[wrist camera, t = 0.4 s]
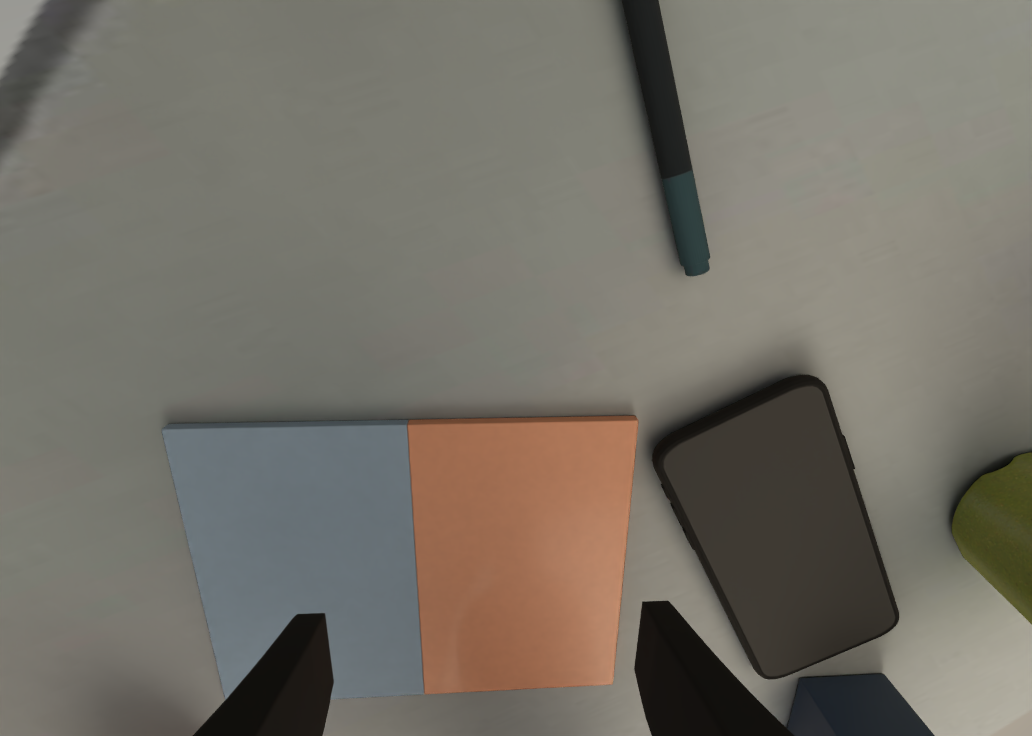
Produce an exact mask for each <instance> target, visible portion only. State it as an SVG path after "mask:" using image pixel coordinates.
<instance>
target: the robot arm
mask: <svg viewBox="0 0 1032 736" xmlns="http://www.w3.org/2000/svg"><path fill="white" fill-rule="evenodd" d="M634 669H635V674H636V678H637V683H638V687H639V692H640V696H641V700H642V704H643V708H644V712H645V716H646V720H647V722H648V725H649V728H650V731H651V734H652V736H794V735H793V734H792V733H791V732H790V731H789V730H788V729H787V728H786V727H785V726H784V725H783V724H782V723H781V722H780V721H778V720H777V719H776V718H775V717H774V716H773V715H772V714H771V713H770V712H769V711H768V710H767V709H766V708H765V707H764V706H763V705H762V704H761V703H760V702H759V701H758V700H757V699H756V698H755V697H754V696H753V695H752V694H751V693H750V692H749V691H748V690H747V689H746V688H745V686H744V685H743V684H742V683H741V682H740V681H739V680H738V679H737V678H736V677H735V676H734V675H733V674H732V673H731V671H730V670H729V669H728V668H727V667H726V666H725V665H724V664H723V663H722V662H721V661H720V660H719V658H718V657H717V656H716V655H715V654H714V653H713V652H712V651H711V649H710V648H709V647H708V646H707V645H706V644H705V643H704V641H703V640H702V639H701V638H700V637H699V636H698V635H697V633H696V632H695V631H694V630H693V629H692V628H691V626H690V625H689V624H688V623H687V622H686V620H685V619H684V618H683V617H682V616H681V615H680V613H679V612H678V611H677V610H676V609H675V607H674V606H673V605H672V604H671V603H670V602H669V601H650V602H642V610H641V618H640V627H639V635H638V643H637V651H636V659H635V668H634ZM333 684H334V679H333V671H332V663H331V655H330V647H329V639H328V632H327V624H326V616H325V613H310V614H297V615H296V616H294V617H293V618H292V620H291V621H290V622H289V623H288V625H287V626H286V627H285V628H284V630H283V631H282V632H281V634H280V635H279V636H278V637H277V639H276V640H275V641H274V642H273V644H272V645H271V646H270V647H269V649H268V650H267V651H266V652H265V654H264V655H263V656H262V657H261V659H260V660H259V661H258V662H257V663H256V665H255V666H254V667H253V668H252V670H251V671H250V672H249V673H248V674H247V675H246V677H245V678H244V679H243V680H242V681H241V682H240V684H239V685H238V686H237V687H236V688H235V689H234V691H233V692H232V693H231V694H230V695H229V696H228V698H227V699H226V700H225V701H224V702H223V703H222V705H221V706H220V707H219V708H218V709H217V710H216V711H215V712H214V713H213V714H212V716H211V717H210V718H209V719H208V720H207V721H206V722H205V723H204V724H203V725H202V726H201V727H200V729H199V730H198V731H197V732H196V733H195V734H194V735H193V736H322V735H323V731H324V727H325V722H326V718H327V713H328V709H329V704H330V699H331V694H332V689H333Z"/></svg>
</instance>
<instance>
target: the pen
mask: <svg viewBox="0 0 1032 736" xmlns="http://www.w3.org/2000/svg"><path fill="white" fill-rule="evenodd" d="M622 3H623V8H624V12H625V17H626V21H627V26H628V30H629V35H630V39H631V44H632V48H633V53H634V57H635V62H636V66H637V71H638V75H639V80H640V84H641V89H642V93H643V98H644V102H645V107H646V111H647V116H648V120H649V125H650V129H651V133H652V138H653V142H654V147H655V151H656V156H657V160H658V165H659V169H660V174H661V178H662V183H663V187H664V192H665V196H666V201H667V205H668V210H669V214H670V219H671V223H672V228H673V232H674V237H675V241H676V246H677V250H678V255H679V259H680V264H681V265H682V266H684V269H685V274H686V275H687V276H697V275H701V274H704V273H706V272H707V271H708V270H709V263H708V259H709V258H710V254H709V249H708V244H707V239H706V234H705V229H704V224H703V219H702V214H701V209H700V204H699V199H698V194H697V189H696V184H695V179H694V175H693V170H692V165H691V160H690V155H689V150H688V145H687V140H686V135H685V130H684V125H683V120H682V115H681V110H680V105H679V100H678V95H677V90H676V85H675V80H674V75H673V70H672V66H671V61H670V56H669V51H668V46H667V41H666V36H665V31H664V26H663V21H662V16H661V11H660V6H659V1H658V0H622Z"/></svg>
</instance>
